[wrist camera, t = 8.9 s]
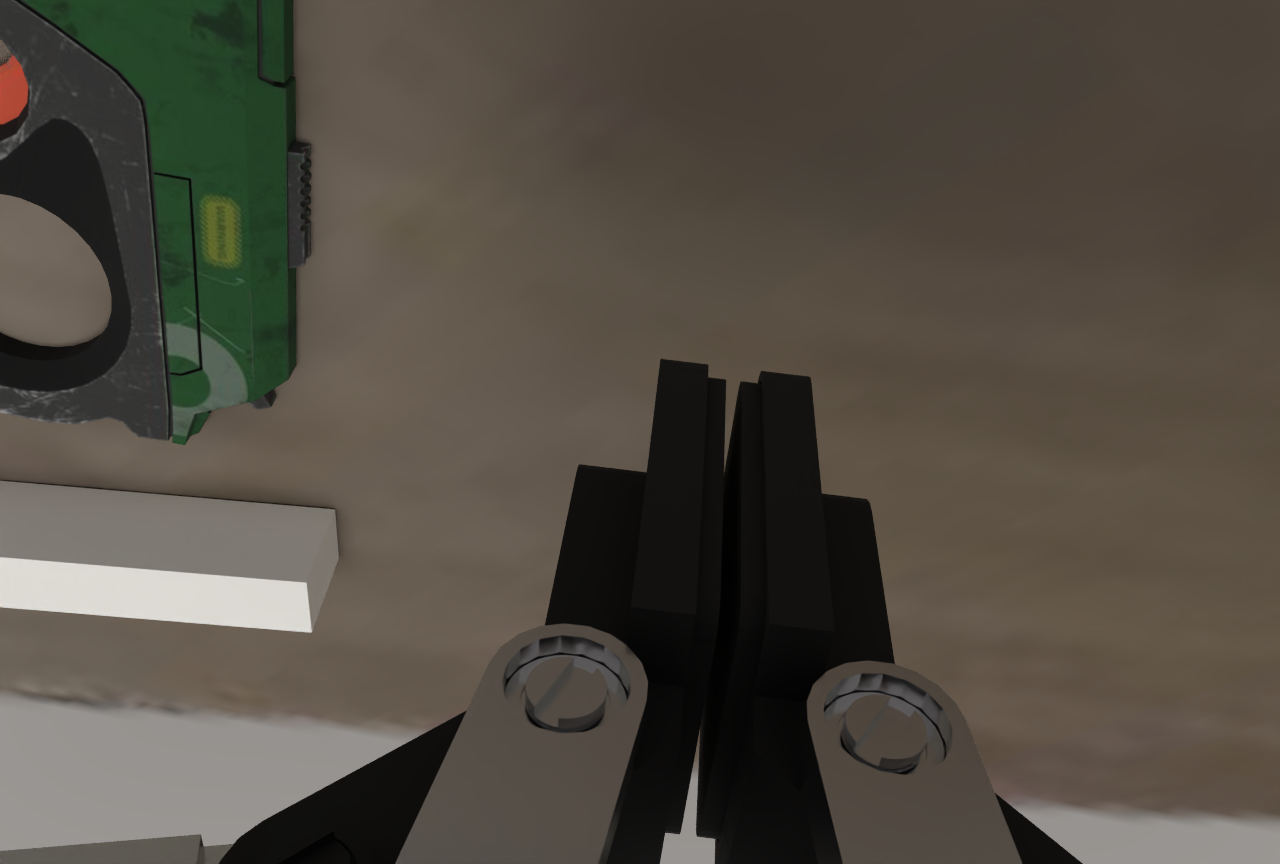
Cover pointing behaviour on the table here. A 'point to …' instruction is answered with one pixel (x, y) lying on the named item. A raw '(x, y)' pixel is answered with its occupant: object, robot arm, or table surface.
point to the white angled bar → (164, 556)
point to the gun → (160, 202)
